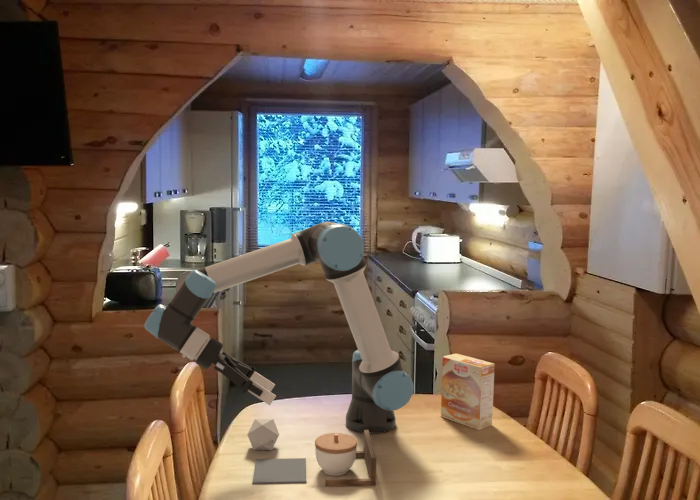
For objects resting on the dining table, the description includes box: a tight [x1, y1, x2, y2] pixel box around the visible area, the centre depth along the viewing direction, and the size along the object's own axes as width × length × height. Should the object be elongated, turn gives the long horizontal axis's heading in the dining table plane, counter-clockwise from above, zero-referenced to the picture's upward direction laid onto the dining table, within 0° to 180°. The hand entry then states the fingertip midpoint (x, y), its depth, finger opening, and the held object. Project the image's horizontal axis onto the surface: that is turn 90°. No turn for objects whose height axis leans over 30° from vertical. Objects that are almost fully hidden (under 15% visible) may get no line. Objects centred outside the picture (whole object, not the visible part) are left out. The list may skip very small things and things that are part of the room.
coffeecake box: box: [440, 353, 496, 431], centre depth 196 cm, size 15×7×20 cm, turn 42°
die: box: [247, 418, 280, 451], centre depth 174 cm, size 8×9×10 cm
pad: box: [252, 457, 307, 485], centre depth 160 cm, size 13×13×1 cm
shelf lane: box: [324, 430, 377, 488], centre depth 161 cm, size 12×17×7 cm
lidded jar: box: [314, 432, 358, 477], centre depth 161 cm, size 11×11×9 cm
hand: (272, 394), depth 162 cm, fingers open, 13 cm apart
